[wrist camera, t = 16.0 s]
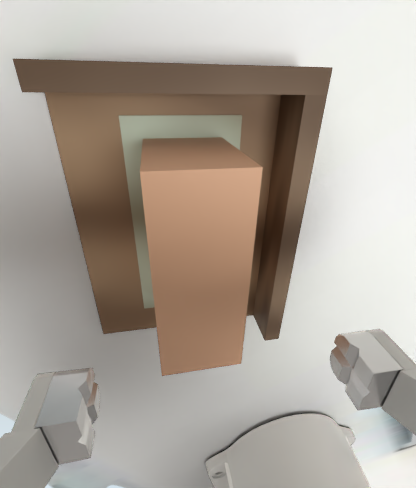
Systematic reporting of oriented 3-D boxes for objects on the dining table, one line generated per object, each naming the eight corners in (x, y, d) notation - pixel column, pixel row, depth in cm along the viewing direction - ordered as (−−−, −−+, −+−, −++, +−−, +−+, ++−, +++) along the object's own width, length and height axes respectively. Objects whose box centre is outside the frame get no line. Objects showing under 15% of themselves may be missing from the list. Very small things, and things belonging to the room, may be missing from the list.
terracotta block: (221, 137, 14) (262, 167, 9) (216, 289, 19) (241, 363, 14) (142, 138, 14) (139, 171, 9) (158, 295, 19) (162, 375, 14)
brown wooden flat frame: (263, 309, 22) (278, 338, 19) (104, 329, 20) (98, 364, 17) (299, 70, 14) (332, 67, 12) (40, 63, 12) (12, 58, 10)
